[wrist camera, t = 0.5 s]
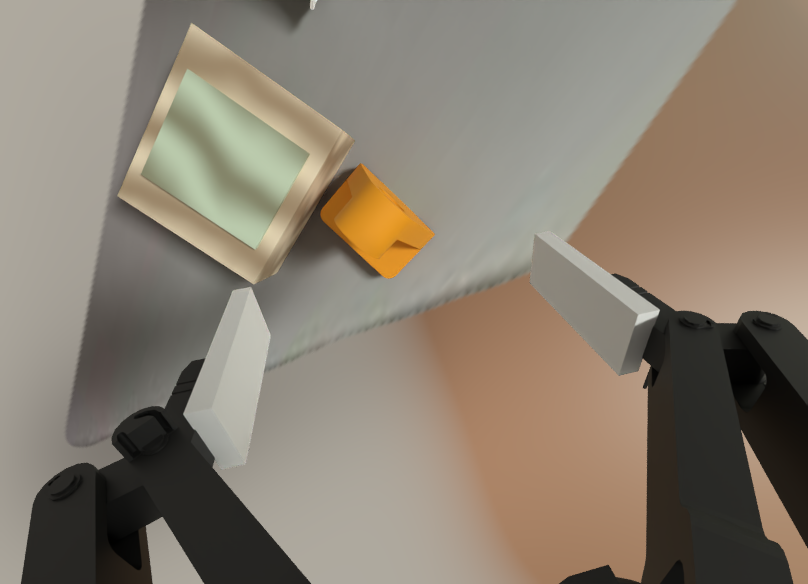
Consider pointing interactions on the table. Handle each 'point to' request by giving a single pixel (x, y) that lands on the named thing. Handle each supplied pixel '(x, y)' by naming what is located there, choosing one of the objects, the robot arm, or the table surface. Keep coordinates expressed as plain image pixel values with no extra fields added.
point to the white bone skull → (312, 4)
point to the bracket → (375, 222)
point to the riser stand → (232, 160)
